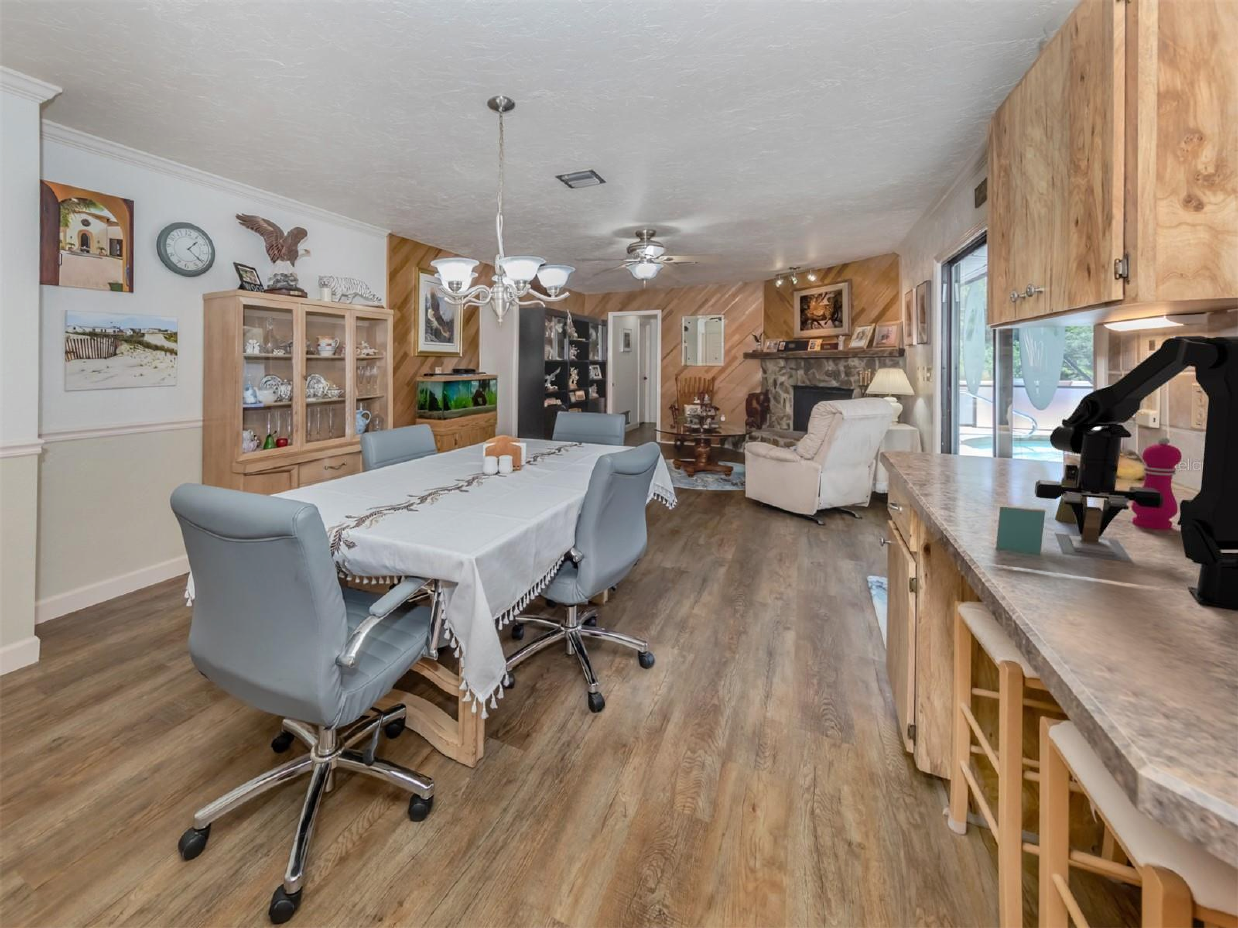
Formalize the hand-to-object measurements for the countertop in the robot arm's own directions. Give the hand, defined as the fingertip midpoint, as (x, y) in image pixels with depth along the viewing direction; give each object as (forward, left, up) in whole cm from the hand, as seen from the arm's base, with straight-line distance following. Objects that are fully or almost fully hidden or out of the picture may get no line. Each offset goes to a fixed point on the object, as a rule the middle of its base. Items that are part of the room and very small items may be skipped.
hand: (1089, 535), depth 110 cm
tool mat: (-3, 0, -2) cm, 4 cm away
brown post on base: (-3, 0, -1) cm, 3 cm away
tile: (-12, +12, -2) cm, 17 cm away
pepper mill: (+21, -13, -2) cm, 25 cm away
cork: (+18, +1, -2) cm, 18 cm away
